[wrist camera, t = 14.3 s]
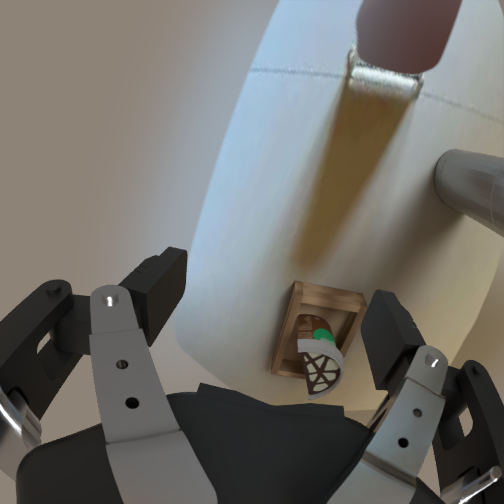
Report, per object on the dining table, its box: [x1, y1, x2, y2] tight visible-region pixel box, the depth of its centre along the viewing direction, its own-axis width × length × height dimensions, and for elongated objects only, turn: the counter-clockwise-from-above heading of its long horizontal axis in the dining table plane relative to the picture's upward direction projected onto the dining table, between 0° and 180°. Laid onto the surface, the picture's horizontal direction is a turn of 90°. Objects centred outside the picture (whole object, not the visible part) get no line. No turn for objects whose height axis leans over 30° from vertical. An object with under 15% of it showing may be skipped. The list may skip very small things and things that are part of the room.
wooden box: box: [271, 281, 368, 379], centre depth 44 cm, size 11×17×4 cm, turn 171°
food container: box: [298, 314, 344, 400], centre depth 40 cm, size 12×6×10 cm, turn 15°
